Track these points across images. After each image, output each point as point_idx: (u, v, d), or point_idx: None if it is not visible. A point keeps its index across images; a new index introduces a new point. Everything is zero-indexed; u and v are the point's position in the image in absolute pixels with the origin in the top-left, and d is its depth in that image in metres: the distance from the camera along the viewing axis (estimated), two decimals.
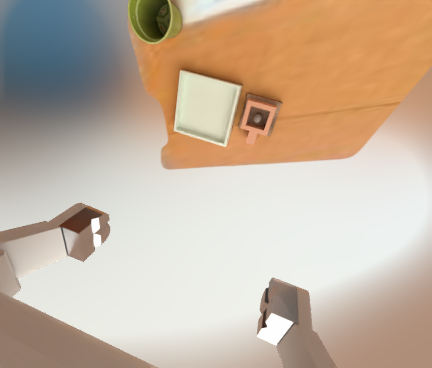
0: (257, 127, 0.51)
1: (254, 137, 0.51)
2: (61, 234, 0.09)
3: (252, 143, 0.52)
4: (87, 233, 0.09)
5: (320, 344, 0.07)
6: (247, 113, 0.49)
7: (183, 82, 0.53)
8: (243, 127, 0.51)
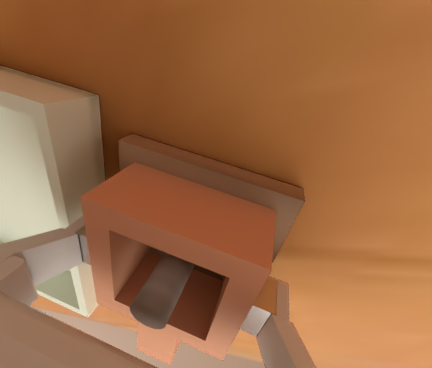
0: (179, 302, 0.10)
1: (167, 347, 0.11)
2: (78, 241, 0.09)
3: (164, 359, 0.11)
4: None
5: (296, 334, 0.07)
6: (104, 259, 0.08)
7: None
8: (109, 304, 0.10)
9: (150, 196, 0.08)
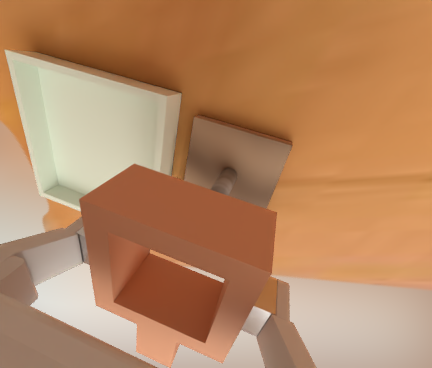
0: (179, 304, 0.10)
1: (166, 349, 0.10)
2: (78, 241, 0.09)
3: (163, 362, 0.11)
4: None
5: (296, 334, 0.07)
6: (103, 262, 0.08)
7: (33, 84, 0.20)
8: (108, 306, 0.10)
9: (149, 198, 0.08)
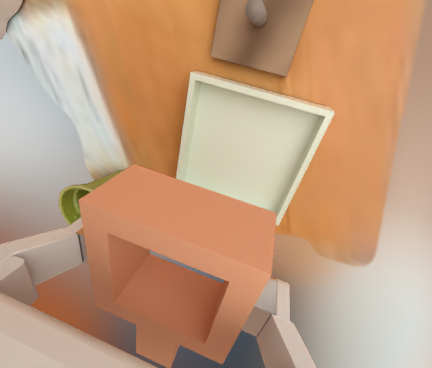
0: (179, 305, 0.10)
1: (166, 350, 0.10)
2: (78, 241, 0.09)
3: (163, 363, 0.11)
4: None
5: (296, 334, 0.07)
6: (103, 262, 0.08)
7: None
8: (107, 307, 0.10)
9: (149, 199, 0.08)
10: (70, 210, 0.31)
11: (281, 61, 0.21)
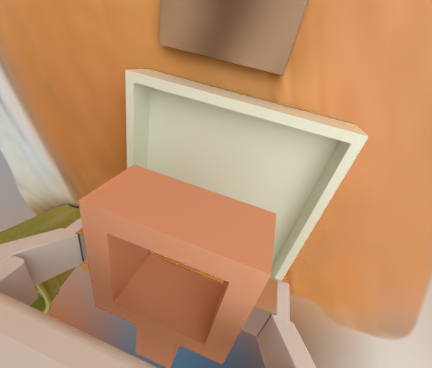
0: (178, 306, 0.10)
1: (166, 350, 0.10)
2: (78, 241, 0.09)
3: (163, 363, 0.11)
4: None
5: (297, 334, 0.07)
6: (103, 263, 0.08)
7: None
8: (107, 308, 0.10)
9: (149, 199, 0.08)
10: None
11: (273, 49, 0.12)
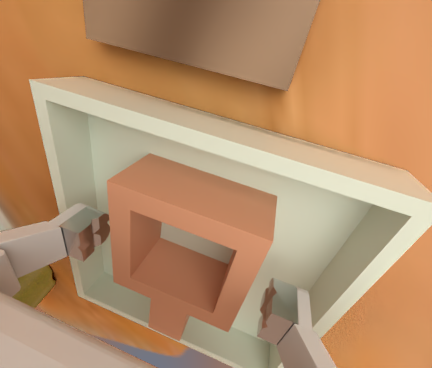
0: (189, 281, 0.11)
1: (177, 322, 0.12)
2: (61, 234, 0.09)
3: (173, 335, 0.12)
4: (87, 233, 0.09)
5: (321, 344, 0.07)
6: (124, 238, 0.10)
7: (120, 288, 0.16)
8: (124, 282, 0.11)
9: (166, 181, 0.09)
10: None
11: (270, 45, 0.07)
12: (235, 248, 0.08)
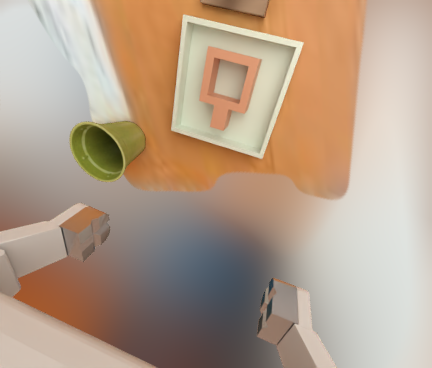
0: (228, 99, 0.29)
1: (223, 117, 0.30)
2: (61, 234, 0.09)
3: (221, 127, 0.30)
4: (87, 233, 0.09)
5: (320, 344, 0.07)
6: (209, 72, 0.28)
7: (190, 129, 0.34)
8: (204, 99, 0.29)
9: None
10: (79, 151, 0.34)
11: (258, 2, 0.25)
12: (248, 65, 0.26)
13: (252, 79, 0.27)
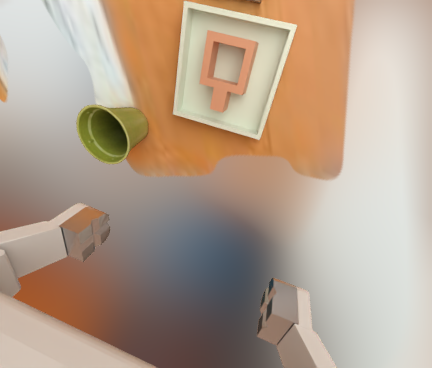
0: (227, 82, 0.31)
1: (222, 98, 0.31)
2: (61, 234, 0.09)
3: (220, 109, 0.32)
4: (87, 233, 0.09)
5: (320, 344, 0.07)
6: (208, 55, 0.29)
7: (191, 113, 0.36)
8: (204, 82, 0.31)
9: None
10: (85, 134, 0.36)
11: None
12: (245, 47, 0.28)
13: (249, 61, 0.28)
